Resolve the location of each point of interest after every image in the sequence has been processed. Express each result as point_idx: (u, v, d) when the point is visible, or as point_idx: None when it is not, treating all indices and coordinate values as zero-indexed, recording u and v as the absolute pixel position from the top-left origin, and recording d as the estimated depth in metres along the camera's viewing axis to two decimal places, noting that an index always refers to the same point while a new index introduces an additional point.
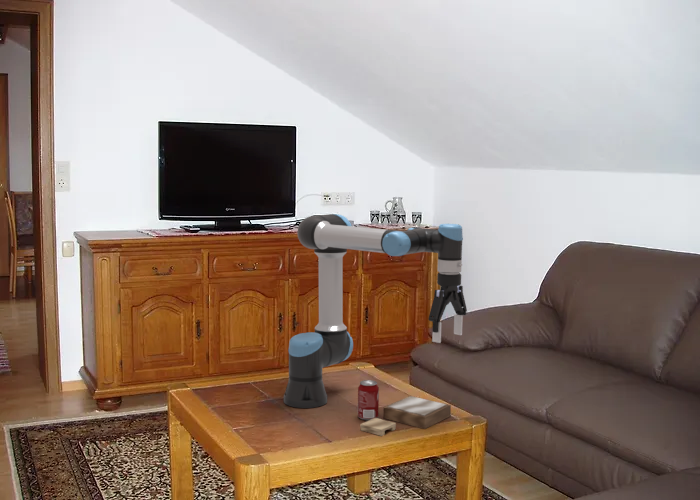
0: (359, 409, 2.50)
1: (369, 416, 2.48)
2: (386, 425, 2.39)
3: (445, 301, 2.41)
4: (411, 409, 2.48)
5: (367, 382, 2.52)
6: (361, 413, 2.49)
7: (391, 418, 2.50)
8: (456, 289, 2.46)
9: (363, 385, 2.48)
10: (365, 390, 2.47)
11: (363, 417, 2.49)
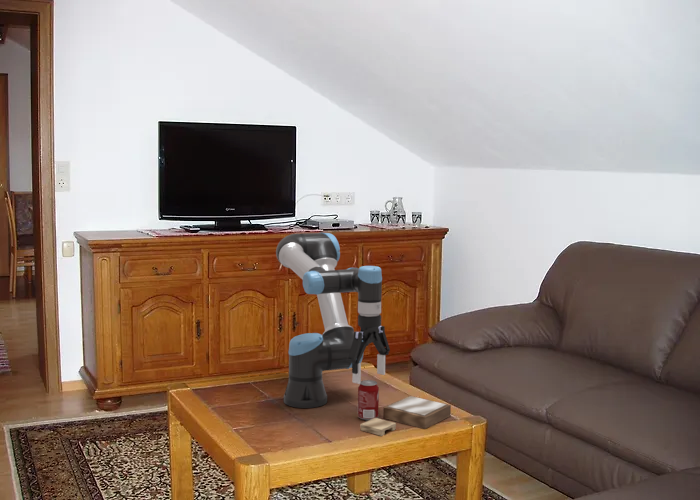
0: (359, 409, 2.50)
1: (369, 416, 2.48)
2: (386, 425, 2.39)
3: (365, 342, 2.45)
4: (411, 409, 2.48)
5: (367, 382, 2.52)
6: (361, 413, 2.49)
7: (391, 418, 2.50)
8: (377, 330, 2.50)
9: (363, 385, 2.48)
10: (365, 390, 2.47)
11: (363, 417, 2.49)
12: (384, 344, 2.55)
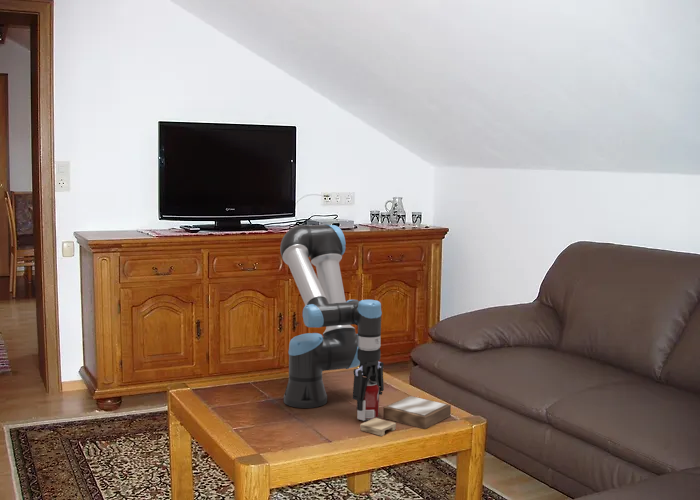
0: None
1: (369, 416, 2.48)
2: (386, 425, 2.39)
3: (366, 378, 2.47)
4: (411, 409, 2.48)
5: None
6: None
7: (391, 418, 2.50)
8: (376, 363, 2.51)
9: None
10: None
11: None
12: (379, 382, 2.55)
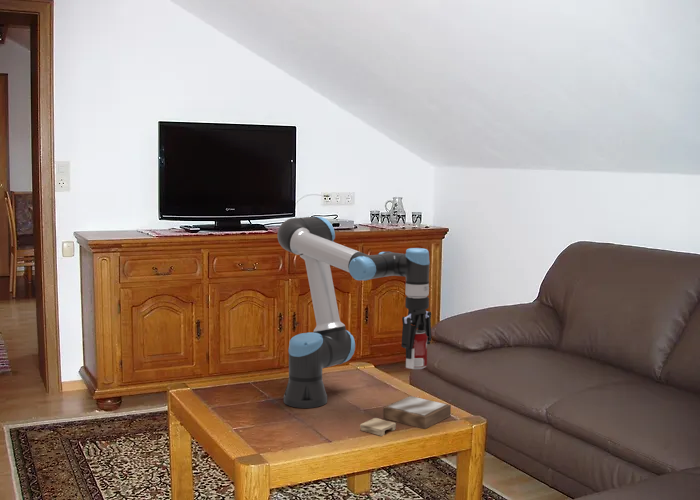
0: None
1: (418, 365, 2.47)
2: (386, 425, 2.39)
3: (414, 326, 2.46)
4: (411, 409, 2.48)
5: None
6: None
7: (391, 418, 2.50)
8: (424, 312, 2.50)
9: None
10: None
11: None
12: (427, 331, 2.54)
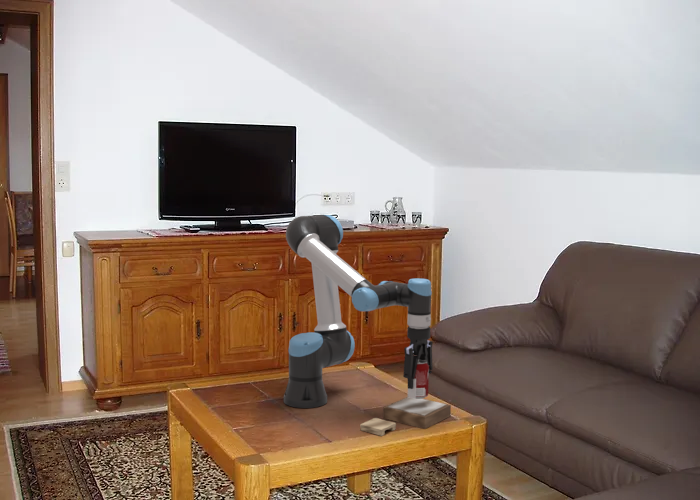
0: None
1: (420, 395, 2.49)
2: (386, 425, 2.39)
3: (416, 356, 2.48)
4: (411, 409, 2.48)
5: None
6: None
7: (391, 418, 2.50)
8: (426, 342, 2.52)
9: None
10: (416, 368, 2.48)
11: None
12: (428, 361, 2.55)
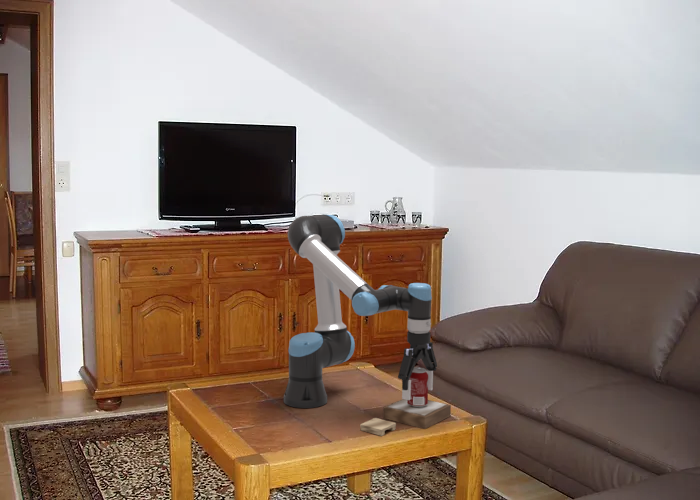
0: None
1: (419, 403, 2.49)
2: (386, 425, 2.39)
3: (414, 359, 2.47)
4: (411, 409, 2.48)
5: (416, 369, 2.53)
6: (411, 400, 2.50)
7: (391, 418, 2.50)
8: (426, 346, 2.52)
9: (413, 372, 2.49)
10: (415, 377, 2.48)
11: (413, 404, 2.50)
12: (432, 360, 2.57)
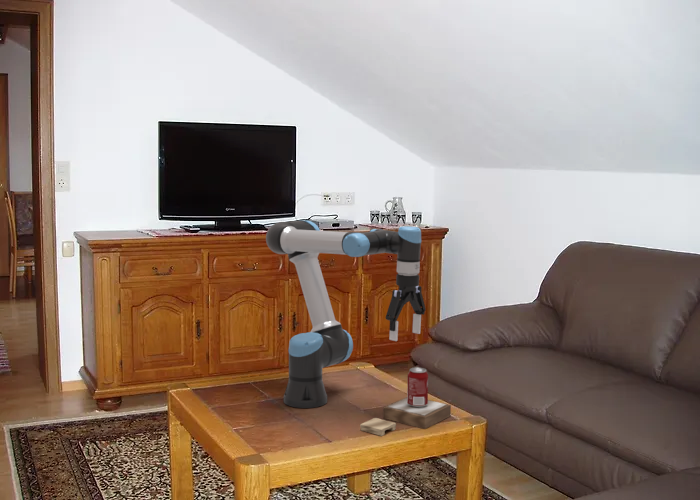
0: (409, 396, 2.51)
1: (419, 403, 2.49)
2: (386, 425, 2.39)
3: (402, 301, 2.50)
4: (411, 409, 2.48)
5: (416, 369, 2.53)
6: (411, 400, 2.50)
7: (391, 418, 2.50)
8: (414, 289, 2.55)
9: (413, 372, 2.49)
10: (415, 377, 2.48)
11: (413, 404, 2.50)
12: (420, 304, 2.60)
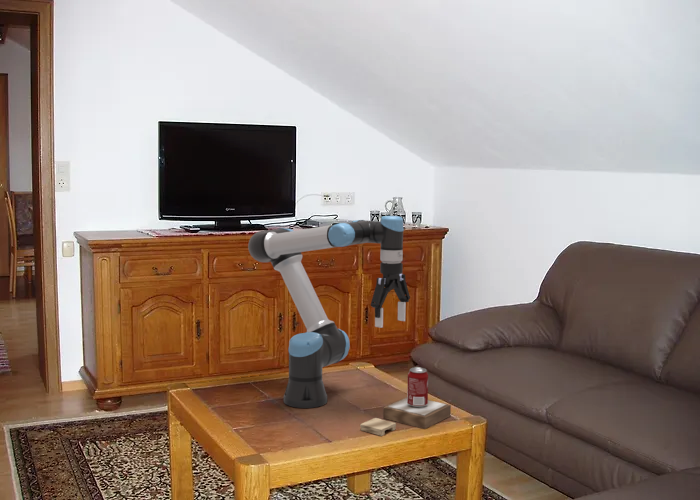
0: (409, 396, 2.51)
1: (419, 403, 2.49)
2: (386, 425, 2.39)
3: (387, 288, 2.56)
4: (411, 409, 2.48)
5: (416, 369, 2.53)
6: (411, 400, 2.50)
7: (391, 418, 2.50)
8: (398, 277, 2.61)
9: (413, 372, 2.49)
10: (415, 377, 2.48)
11: (413, 404, 2.50)
12: (404, 292, 2.66)
